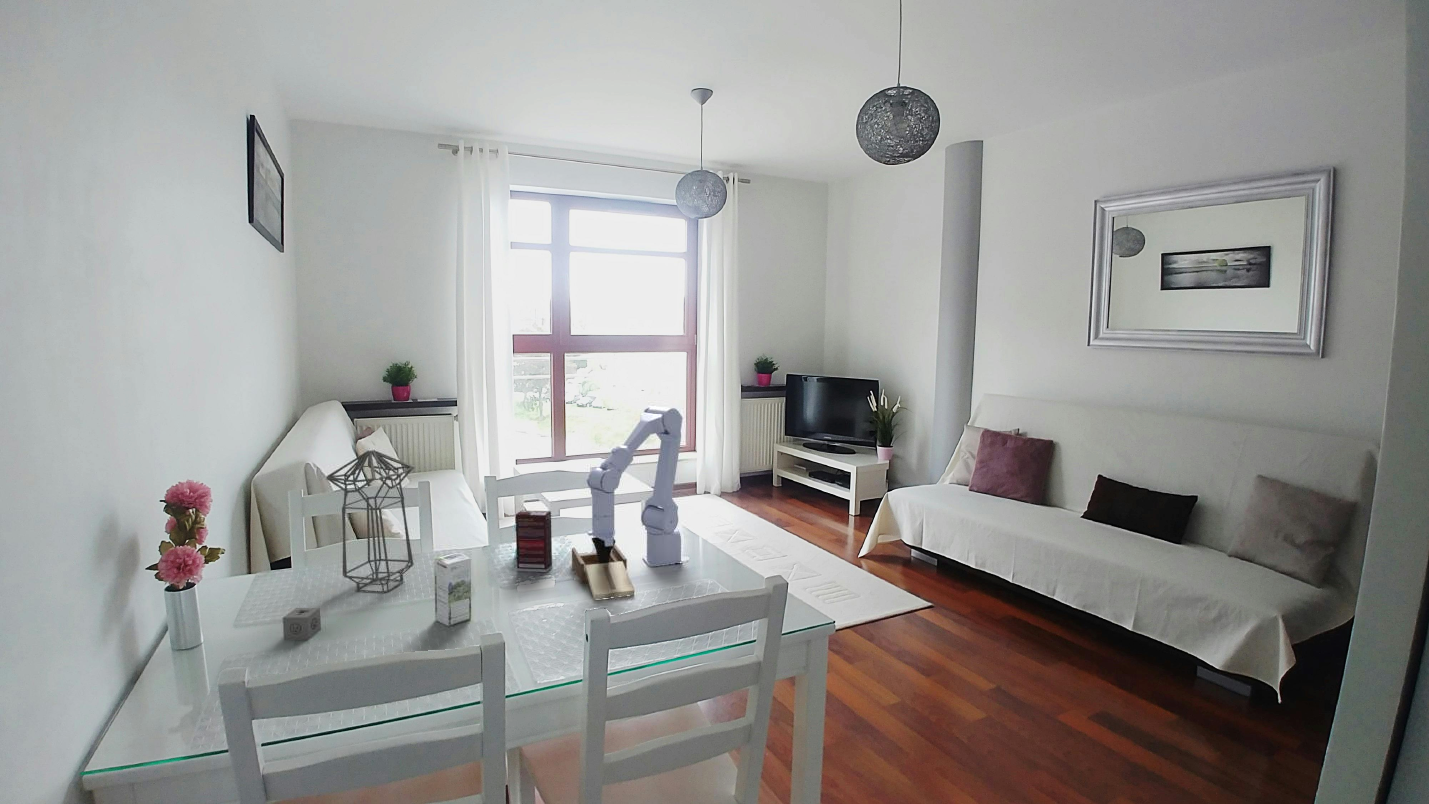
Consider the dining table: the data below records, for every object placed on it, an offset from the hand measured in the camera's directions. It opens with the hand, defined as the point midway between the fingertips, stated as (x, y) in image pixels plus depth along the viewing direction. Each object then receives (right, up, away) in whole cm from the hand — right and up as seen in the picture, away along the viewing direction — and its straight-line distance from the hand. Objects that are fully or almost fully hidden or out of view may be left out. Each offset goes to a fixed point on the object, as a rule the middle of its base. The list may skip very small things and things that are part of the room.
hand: (603, 565), depth 182 cm
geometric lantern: (-56, -4, -6) cm, 57 cm away
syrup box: (-30, -7, -26) cm, 40 cm away
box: (-2, -3, +6) cm, 7 cm away
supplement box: (-20, -3, +8) cm, 22 cm away
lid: (+2, -3, -6) cm, 7 cm away
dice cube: (-58, -7, -34) cm, 68 cm away
